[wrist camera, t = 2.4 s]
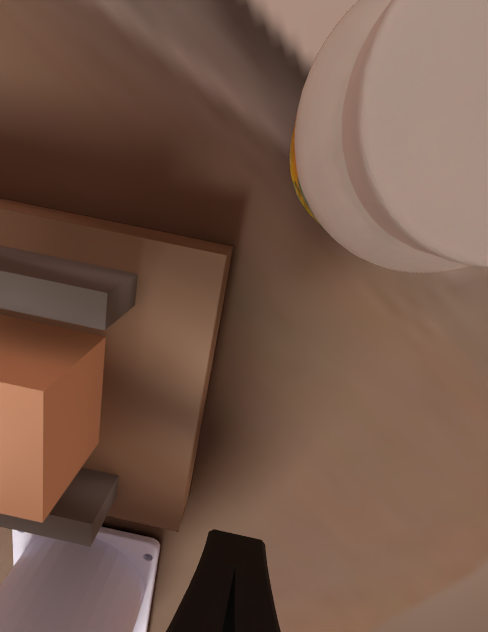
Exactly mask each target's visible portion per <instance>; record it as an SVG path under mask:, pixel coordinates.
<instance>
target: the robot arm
mask: <svg viewBox="0 0 488 632" xmlns="http://www.w3.org/2000/svg"><path fill="white" fill-rule="evenodd" d="M12 534H13V565H14V566H13V568H12V569H11V571H10V572H9V574H8V575H7V576H6V578H5V579H4V581H3V582H2V584H1V585H0V632H147V628H148V621H149V615H150V609H151V602H152V596H153V589H154V583H155V576H156V570H157V563H158V557H159V551H160V544H159V542H158V541H157V540H156V539H154V538H150V537H146V536H141V535H137V534H133V533H128V532H124V531H119V530H115V529H110V528H106V527H101V528H100V530H99V532H98V533H97V535H96V537H95V539H94V541H93V543H92V545H91V547H89V546H84V545H80V544H75V543H71V542H67V541H62V540H58V539H53V538H49V537H44V536H40V535H35V534H31V533H26V532H22V531H18V530H13V529H12ZM166 632H281V631H280V627H279V623H278V619H277V615H276V610H275V605H274V600H273V595H272V590H271V585H270V579H269V573H268V567H267V559H266V551H265V544H264V542H263V541H262V540H259V539H255V538H250V537H246V536H241V535H237V534H232V533H228V532H223V531H219V530H212V531H209V533H208V537H207V541H206V544H205V547H204V550H203V553H202V556H201V559H200V561H199V564H198V566H197V569H196V571H195V573H194V576H193V578H192V580H191V583H190V585H189V587H188V589H187V591H186V593H185V595H184V597H183V599H182V601H181V603H180V605H179V607H178V609H177V611H176V613H175V615H174V617H173V619H172V621H171V623H170V625H169V627H168V629H167V631H166Z"/></svg>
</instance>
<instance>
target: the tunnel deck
mask: <svg viewBox="0 0 488 632" xmlns="http://www.w3.org/2000/svg"><path fill="white" fill-rule="evenodd" d="M232 251H233V246H229V245H224V244H220V243H215V242H210V241H205V240H200V239H195V238H190V237H186V236H181V235H176V234H171V233H166V232H161V231H157V230H152V229H147V228H142V227H137V226H132V225H127V224H123V223H118V222H113V221H108V220H103V219H98V218H94V217H89V216H84V215H79V214H74V213H69V212H64V211H60V210H55V209H50V208H45V207H40V206H35V205H30V204H26V203H21V202H16V201H11V200H6V199H1V198H0V315H5V316H10V317H15V318H19V319H24V320H29V321H33V322H38V323H43V324H47V325H52V326H57V327H62V328H66V329H71V330H76V331H80V332H85V333H90V334H95V335H99V336H104V337H106V341H105V356H104V370H103V385H102V400H101V415H100V429H99V443H98V445H97V446H96V447H95V449H94V450H93V452H92V453H91V455H90V456H89V457H88V459H87V460H86V462H85V463H84V465H83V466H82V467H81V469H80V470H79V472H78V473H77V475H76V476H75V477H74V479H73V480H72V482H71V483H70V485H69V486H68V487H67V489H66V490H65V492H64V493H63V495H62V496H61V497H60V499H59V500H58V502H57V503H56V505H55V506H54V507H53V509H52V510H51V512H50V513H49V515H48V516H47V517H46V519H45V520H44V522H43V523H41V522H37V521H32V520H28V519H23V518H19V517H14V516H10V515H5V514H1V513H0V527H4V528H9V529H13V530H18V531H22V532H26V533H31V534H35V535H40V536H44V537H49V538H53V539H58V540H62V541H67V542H71V543H75V544H80V545H84V546H89V547H91V545H92V543H93V541H94V539H95V537H96V535H97V533H98V532H99V530H100V528H101V526H102V524H103V522H104V520H105V518H106V516H109V517H114V518H118V519H123V520H127V521H132V522H136V523H141V524H145V525H150V526H154V527H159V528H163V529H168V530H172V531H177V532H178V531H179V528H180V524H181V521H182V517H183V514H184V511H185V507H186V504H187V500H188V496H189V491H190V485H191V480H192V474H193V468H194V463H195V457H196V452H197V446H198V441H199V435H200V430H201V424H202V418H203V413H204V407H205V402H206V396H207V391H208V385H209V379H210V374H211V368H212V363H213V357H214V352H215V346H216V341H217V335H218V329H219V324H220V318H221V313H222V307H223V302H224V296H225V290H226V285H227V279H228V274H229V268H230V263H231V257H232Z"/></svg>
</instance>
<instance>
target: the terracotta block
mask: <svg viewBox="0 0 488 632" xmlns="http://www.w3.org/2000/svg"><path fill="white" fill-rule="evenodd" d="M105 341H106V337H104V336H99V335H95V334H90V333H85V332H80V331H76V330H71V329H66V328H62V327H57V326H52V325H47V324H43V323H38V322H33V321H29V320H24V319H19V318H15V317H10V316H5V315H0V513H1V514H5V515H10V516H14V517H19V518H23V519H28V520H32V521H37V522H41V523H43V522H44V520H45V519H46V517H47V516H48V515H49V513H50V512H51V510H52V509H53V507H54V506H55V505H56V503H57V502H58V500H59V499H60V497H61V496H62V495H63V493H64V492H65V490H66V489H67V487H68V486H69V485H70V483H71V482H72V480H73V479H74V477H75V476H76V475H77V473H78V472H79V470H80V469H81V467H82V466H83V465H84V463H85V462H86V460H87V459H88V457H89V456H90V455H91V453H92V452H93V450H94V449H95V447H96V446H97V445H98V443H99V429H100V415H101V400H102V385H103V370H104V356H105Z"/></svg>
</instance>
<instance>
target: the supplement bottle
mask: <svg viewBox="0 0 488 632" xmlns="http://www.w3.org/2000/svg"><path fill="white" fill-rule="evenodd" d="M289 159H290V171H291V178H292V182H293V186H294V188H295V191H296V194H297V196H298V198H299V200H300V202H301V204H302V205H303V207H304V208H305V209H306V211H307V212H308V213H309V214H310V215H311V216H312V217H313V218H314V219H315V220H316V221H317V222H318V223H319V224H320V225H321V226H322V228H323V229H324V230H325V231H326V232H327V233H328V234H329V235H330V236H331V237H332V238H333V239H334V240H335V241H337V242H338V243H339V244H340V245H341V246H343V247H344V248H345V249H347V250H348V251H349V252H350V253H352V254H353V255H355V256H357V257H359V258H362V259H364V260H366V261H368V262H370V263H372V264H375V265H378V266H381V267H384V268H388V269H392V270H397V271H403V272H412V273H434V272H443V271H450V270H455V269H459V268H463V267H467V266H473V267H485V268H488V0H359V1H358V2H357V3H356V4H355V5H354V6H353V7H352V8H351V9H350V10H349V11H348V12H347V13H346V15H345V16H344V17H343V18H342V19H341V20H340V21H339V23H338V24H337V25H336V27H335V28H334V29H333V31H332V32H331V34H330V35H329V36H328V38H327V39H326V41H325V43H324V44H323V46H322V48H321V49H320V51H319V53H318V54H317V56H316V58H315V60H314V62H313V65H312V67H311V69H310V71H309V74H308V77H307V79H306V82H305V85H304V88H303V90H302V94H301V98H300V102H299V106H298V111H297V116H296V121H295V126H294V130H293V134H292V140H291V146H290V157H289Z"/></svg>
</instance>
